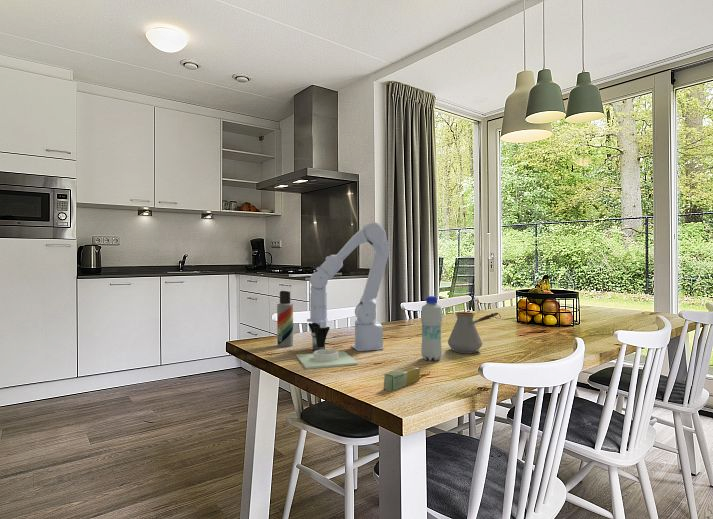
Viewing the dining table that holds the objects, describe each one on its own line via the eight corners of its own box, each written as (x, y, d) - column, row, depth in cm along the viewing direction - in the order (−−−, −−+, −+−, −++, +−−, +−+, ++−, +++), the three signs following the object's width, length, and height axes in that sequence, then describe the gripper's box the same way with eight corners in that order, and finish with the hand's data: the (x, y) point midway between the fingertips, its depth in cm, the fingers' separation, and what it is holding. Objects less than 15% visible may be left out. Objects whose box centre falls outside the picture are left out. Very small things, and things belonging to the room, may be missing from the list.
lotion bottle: (274, 346, 157) (273, 291, 157) (282, 343, 163) (282, 289, 162) (288, 347, 155) (287, 291, 155) (296, 344, 161) (295, 290, 160)
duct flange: (343, 352, 147) (343, 345, 147) (358, 364, 132) (358, 356, 132) (296, 356, 142) (296, 348, 142) (305, 369, 127) (305, 360, 127)
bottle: (443, 357, 140) (443, 295, 140) (440, 362, 134) (440, 297, 133) (422, 355, 142) (422, 294, 142) (418, 360, 136) (418, 296, 135)
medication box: (391, 392, 106) (391, 376, 106) (383, 389, 108) (383, 373, 108) (419, 381, 115) (420, 366, 115) (411, 379, 117) (411, 364, 117)
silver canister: (324, 347, 155) (324, 331, 155) (327, 351, 150) (327, 333, 150) (309, 348, 153) (309, 331, 153) (313, 352, 148) (312, 334, 148)
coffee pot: (440, 349, 152) (440, 306, 152) (466, 346, 157) (466, 304, 157) (484, 363, 133) (484, 314, 132) (512, 358, 138) (512, 311, 138)
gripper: (303, 304, 157) (303, 341, 157) (311, 309, 143) (311, 350, 143) (322, 303, 159) (322, 340, 159) (332, 308, 145) (332, 349, 145)
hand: (318, 345), depth 151 cm, fingers open, 6 cm apart
